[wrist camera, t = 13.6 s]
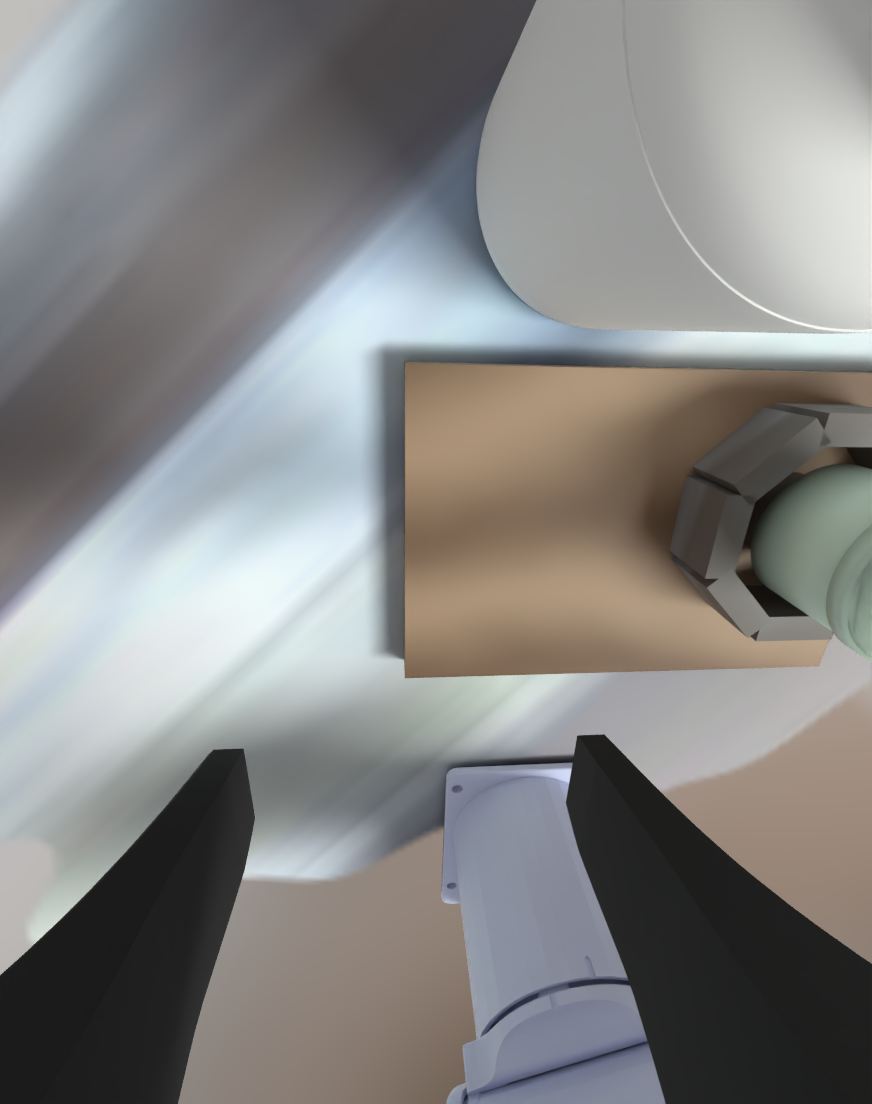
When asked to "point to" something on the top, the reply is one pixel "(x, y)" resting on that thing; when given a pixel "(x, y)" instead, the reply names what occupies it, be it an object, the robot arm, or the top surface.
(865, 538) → the cap
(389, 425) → the top surface
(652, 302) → the pill bottle
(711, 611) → the stud board
